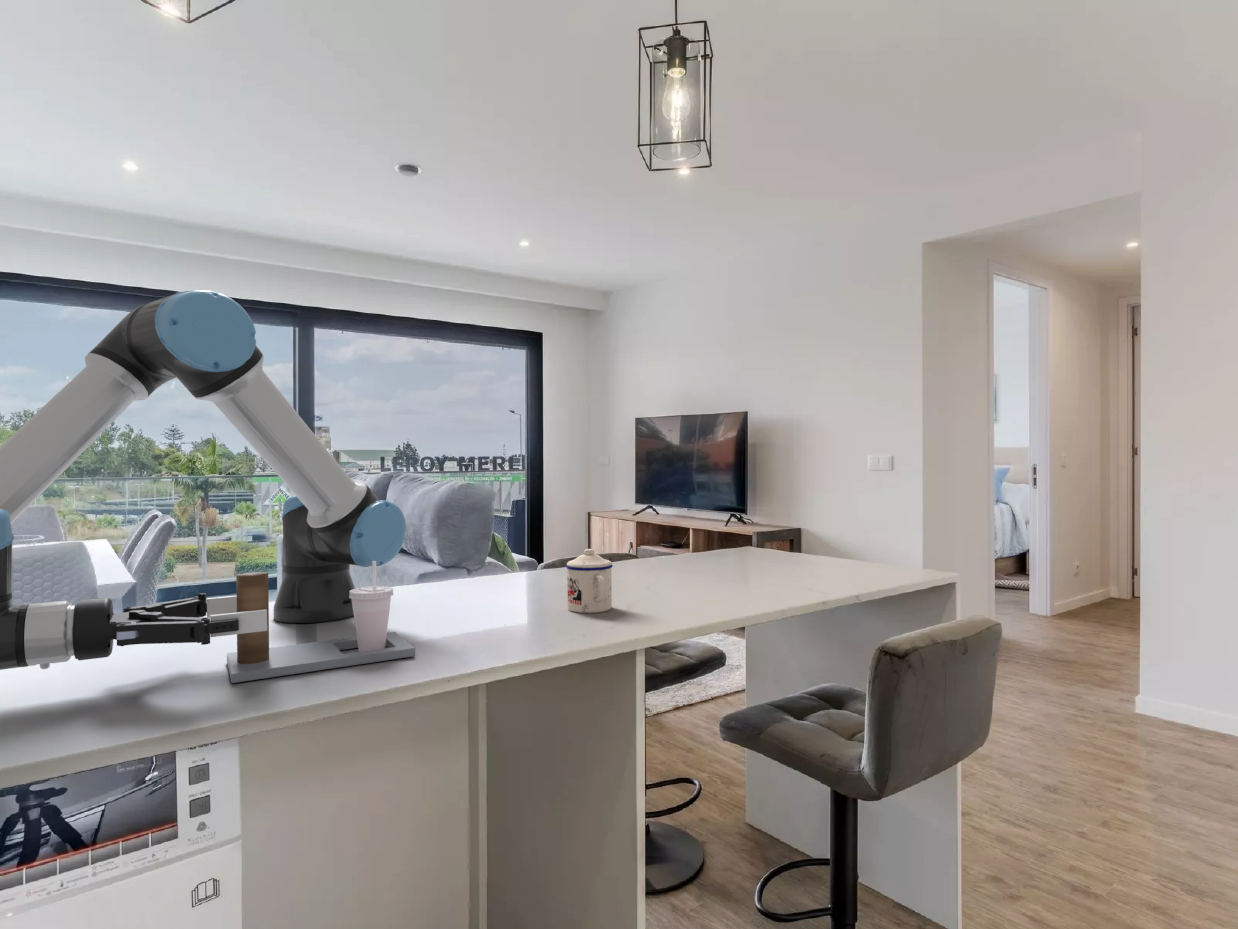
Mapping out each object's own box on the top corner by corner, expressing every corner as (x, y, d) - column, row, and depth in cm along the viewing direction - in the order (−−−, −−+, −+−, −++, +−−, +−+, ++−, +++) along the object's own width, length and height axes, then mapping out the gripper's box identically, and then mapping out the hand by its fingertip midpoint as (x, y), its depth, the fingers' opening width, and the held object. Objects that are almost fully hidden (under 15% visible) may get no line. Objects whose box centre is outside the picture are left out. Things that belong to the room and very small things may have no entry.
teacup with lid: (560, 606, 143) (559, 548, 143) (602, 602, 147) (602, 545, 147) (580, 618, 132) (580, 555, 132) (626, 614, 136) (625, 552, 136)
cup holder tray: (226, 661, 104) (225, 570, 104) (394, 639, 117) (393, 558, 117) (231, 683, 94) (230, 582, 94) (415, 656, 107) (414, 567, 107)
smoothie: (378, 660, 105) (377, 564, 105) (340, 657, 107) (339, 563, 107) (402, 648, 112) (401, 558, 112) (366, 646, 113) (365, 557, 113)
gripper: (85, 639, 101) (254, 621, 112) (59, 686, 80) (271, 658, 91) (84, 586, 101) (253, 573, 112) (59, 619, 80) (271, 598, 91)
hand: (262, 611), depth 101 cm, fingers open, 13 cm apart
